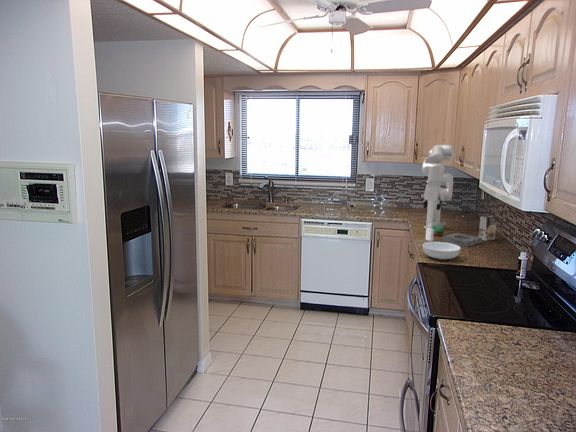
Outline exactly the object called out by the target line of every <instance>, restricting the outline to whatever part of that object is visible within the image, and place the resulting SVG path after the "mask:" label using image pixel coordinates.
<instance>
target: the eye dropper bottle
mask: <svg viewBox="0 0 576 432" xmlns="http://www.w3.org/2000/svg"><path fill="white" fill-rule="evenodd" d="M425 230H426V231H425V240H426V241H427V242H434V237H435V236H434V230H433V229H432V225H431V223H430V225H429V226H428V228H427V229H425Z"/></svg>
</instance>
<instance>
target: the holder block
mask: <svg viewBox="0 0 576 432" xmlns="http://www.w3.org/2000/svg"><path fill="white" fill-rule="evenodd" d="M482 241H483V240H482V238H480V237H478V236H476V235H469V234H464V233H458V232H455V233H454V232H453V233H451V234H448V235H443V236H442V238H441V242H446V243H451V244H455V245H457V246H459V247H464V246H465V247H464V248H469V246H470V247H472V246H476V245H479V244H482Z"/></svg>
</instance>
